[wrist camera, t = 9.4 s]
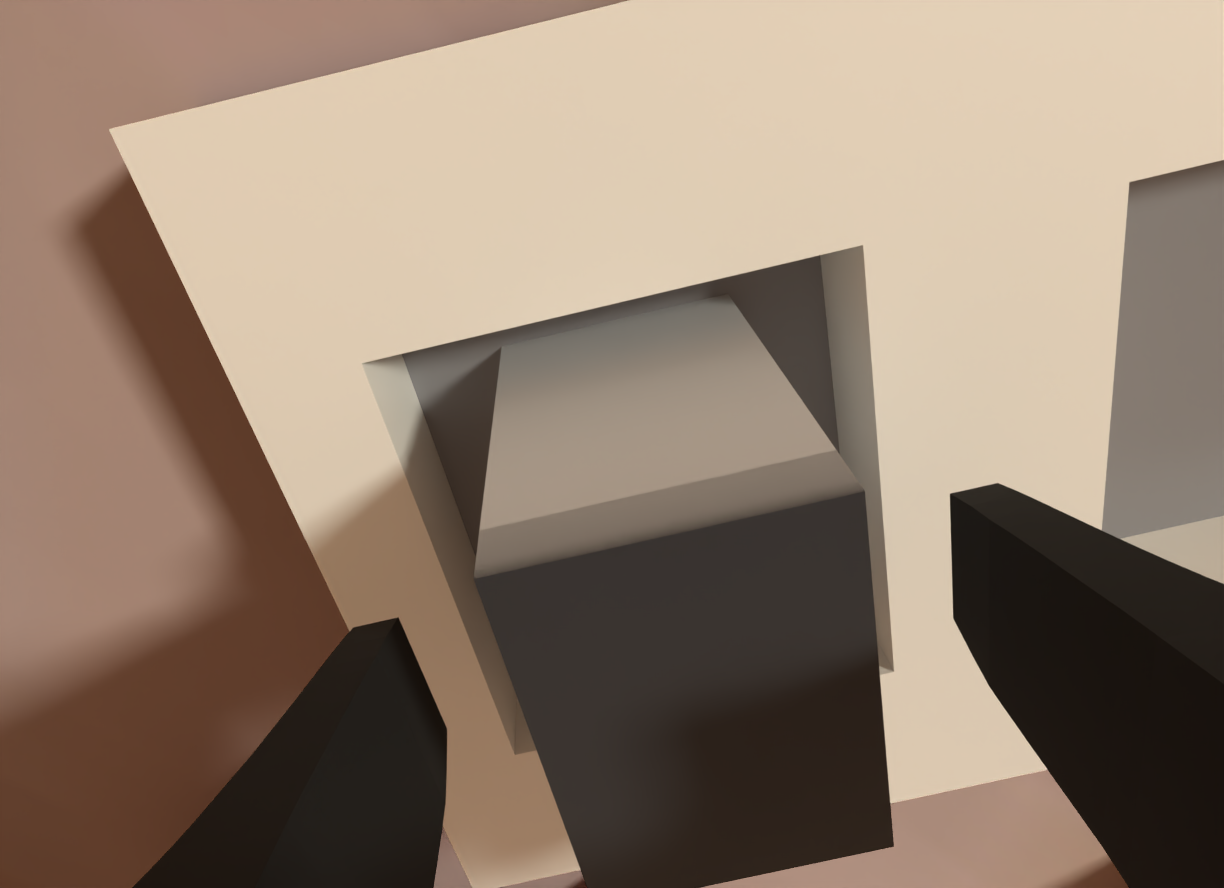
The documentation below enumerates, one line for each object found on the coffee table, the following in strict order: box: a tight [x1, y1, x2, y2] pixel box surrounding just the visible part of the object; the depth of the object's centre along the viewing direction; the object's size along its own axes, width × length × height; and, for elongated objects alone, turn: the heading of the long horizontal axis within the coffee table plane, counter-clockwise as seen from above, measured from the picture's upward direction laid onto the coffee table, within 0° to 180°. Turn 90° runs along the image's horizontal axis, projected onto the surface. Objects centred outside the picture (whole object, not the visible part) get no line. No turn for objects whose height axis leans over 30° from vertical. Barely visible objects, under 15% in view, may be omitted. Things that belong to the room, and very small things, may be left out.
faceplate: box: [109, 0, 1224, 888], centre depth 13 cm, size 14×20×2 cm
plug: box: [474, 294, 894, 888], centre depth 11 cm, size 5×4×6 cm
